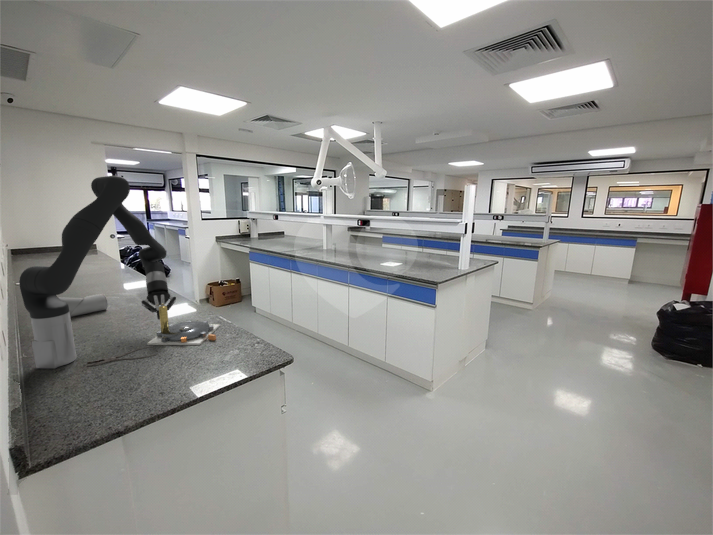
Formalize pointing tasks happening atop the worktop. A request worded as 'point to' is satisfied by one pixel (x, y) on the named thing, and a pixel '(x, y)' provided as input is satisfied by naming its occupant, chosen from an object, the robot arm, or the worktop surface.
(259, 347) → the worktop surface
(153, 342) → the base plate
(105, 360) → the pliers
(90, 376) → the worktop surface
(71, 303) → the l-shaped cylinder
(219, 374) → the worktop surface
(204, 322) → the sprocket
